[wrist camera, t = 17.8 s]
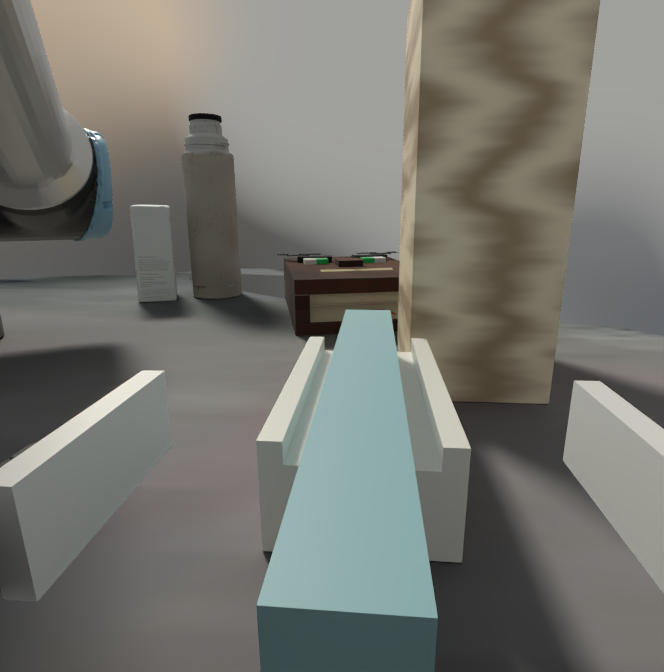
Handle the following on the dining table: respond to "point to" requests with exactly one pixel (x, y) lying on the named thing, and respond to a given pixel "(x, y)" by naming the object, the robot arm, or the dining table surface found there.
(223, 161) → the thermos bottle
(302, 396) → the dock
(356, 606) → the bar
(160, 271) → the skincare box
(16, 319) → the dining table surface
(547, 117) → the pedestal
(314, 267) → the decorative book
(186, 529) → the dining table surface
